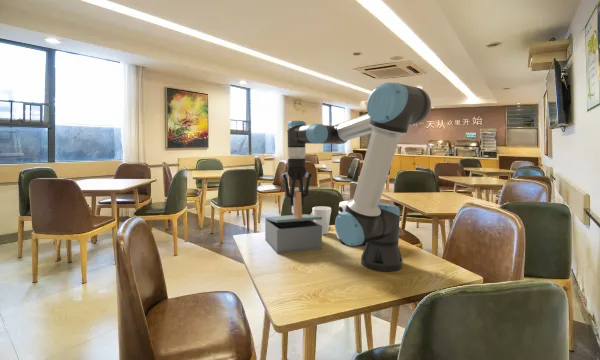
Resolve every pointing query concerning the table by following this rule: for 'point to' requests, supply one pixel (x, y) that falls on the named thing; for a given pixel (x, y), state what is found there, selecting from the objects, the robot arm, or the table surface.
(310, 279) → the table surface
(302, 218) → the lid flap
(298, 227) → the carton
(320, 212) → the foam cup
